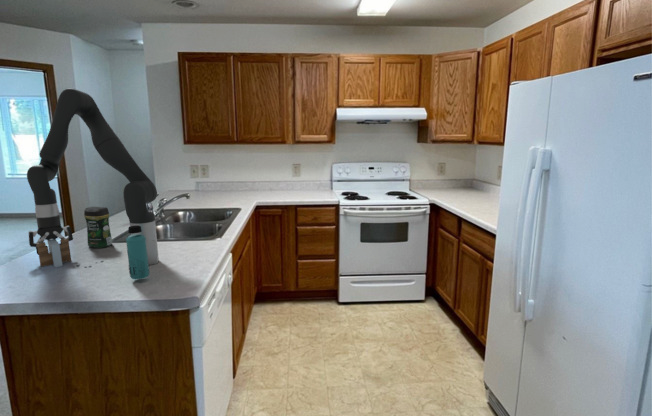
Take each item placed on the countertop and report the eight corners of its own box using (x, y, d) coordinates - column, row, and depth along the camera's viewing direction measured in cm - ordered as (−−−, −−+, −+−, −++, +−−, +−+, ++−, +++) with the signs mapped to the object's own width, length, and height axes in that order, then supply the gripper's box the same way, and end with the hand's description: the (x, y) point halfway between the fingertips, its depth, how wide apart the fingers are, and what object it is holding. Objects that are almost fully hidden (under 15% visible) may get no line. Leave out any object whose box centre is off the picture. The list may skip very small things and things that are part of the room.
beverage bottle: (153, 276, 137) (148, 223, 133) (145, 283, 131) (139, 228, 127) (135, 276, 137) (129, 223, 133) (126, 283, 131) (120, 228, 127)
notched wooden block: (71, 260, 154) (68, 239, 152) (41, 266, 147) (37, 244, 145) (70, 259, 155) (67, 238, 154) (40, 265, 149) (36, 243, 147)
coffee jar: (84, 247, 171) (79, 208, 167) (98, 242, 179) (93, 204, 175) (103, 249, 169) (98, 209, 166) (115, 244, 177) (111, 205, 173)
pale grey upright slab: (57, 258, 156) (54, 237, 155) (62, 266, 148) (59, 244, 146) (50, 259, 155) (47, 239, 153) (55, 267, 146) (51, 245, 144)
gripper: (67, 210, 157) (72, 247, 161) (24, 215, 148) (30, 255, 151) (70, 213, 152) (75, 251, 155) (26, 219, 142) (32, 259, 146)
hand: (53, 253), depth 153 cm, fingers open, 8 cm apart
